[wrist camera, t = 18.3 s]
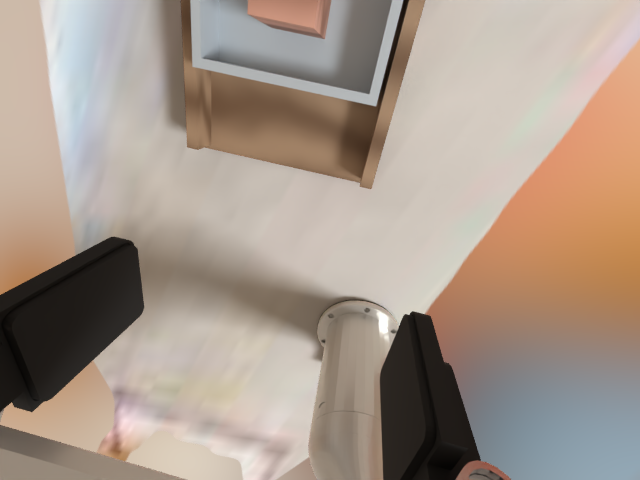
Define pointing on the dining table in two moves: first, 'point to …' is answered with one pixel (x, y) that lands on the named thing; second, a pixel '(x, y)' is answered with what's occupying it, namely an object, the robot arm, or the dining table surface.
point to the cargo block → (293, 15)
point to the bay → (295, 113)
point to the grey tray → (299, 47)
